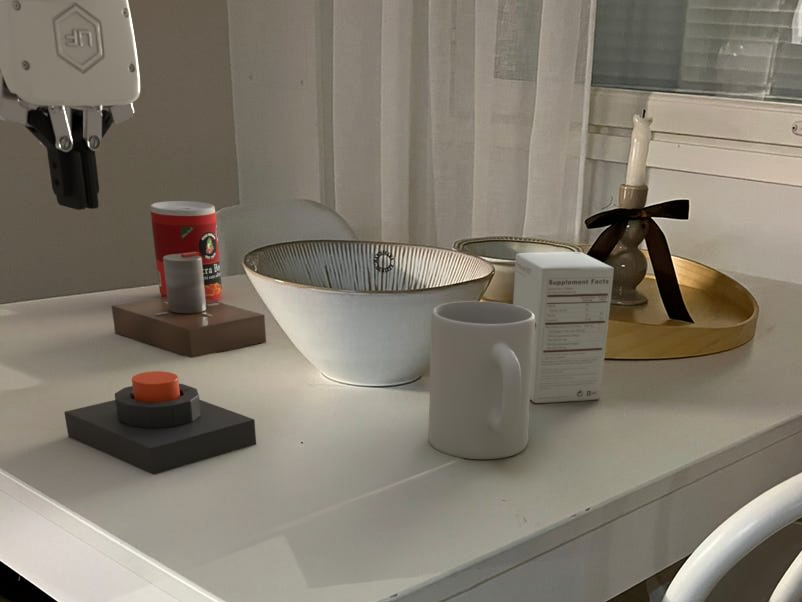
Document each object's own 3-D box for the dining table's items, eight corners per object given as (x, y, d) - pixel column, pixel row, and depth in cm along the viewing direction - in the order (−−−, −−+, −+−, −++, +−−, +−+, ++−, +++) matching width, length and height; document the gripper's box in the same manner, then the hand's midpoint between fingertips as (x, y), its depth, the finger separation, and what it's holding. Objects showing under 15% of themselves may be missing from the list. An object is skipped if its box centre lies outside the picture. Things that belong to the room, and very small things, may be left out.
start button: (125, 398, 83) (122, 376, 82) (162, 389, 86) (160, 368, 85) (151, 408, 81) (149, 386, 81) (189, 399, 84) (187, 377, 83)
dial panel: (114, 332, 115) (110, 303, 113) (189, 319, 121) (186, 291, 120) (191, 358, 107) (188, 327, 106) (266, 342, 114) (264, 313, 112)
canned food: (192, 307, 126) (182, 212, 121) (146, 297, 130) (135, 204, 124) (236, 297, 132) (229, 206, 127) (191, 288, 136) (182, 199, 130)
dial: (183, 315, 110) (177, 259, 107) (161, 308, 112) (154, 253, 110) (213, 310, 113) (209, 254, 110) (191, 303, 115) (186, 249, 112)
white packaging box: (506, 382, 104) (513, 251, 98) (573, 379, 106) (585, 250, 100) (531, 404, 98) (541, 266, 92) (602, 400, 100) (616, 265, 94)
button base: (68, 437, 85) (60, 389, 83) (169, 411, 92) (164, 367, 90) (154, 475, 79) (147, 425, 77) (256, 444, 86) (253, 397, 84)
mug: (416, 430, 90) (417, 302, 85) (506, 423, 93) (513, 298, 87) (459, 479, 81) (464, 338, 75) (559, 470, 83) (570, 333, 78)
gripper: (-40, -99, 62) (11, 222, 72) (168, -71, 73) (189, 207, 82) (-98, -99, 66) (-42, 206, 76) (107, -72, 76) (134, 193, 86)
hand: (78, 205), depth 79 cm, fingers closed
